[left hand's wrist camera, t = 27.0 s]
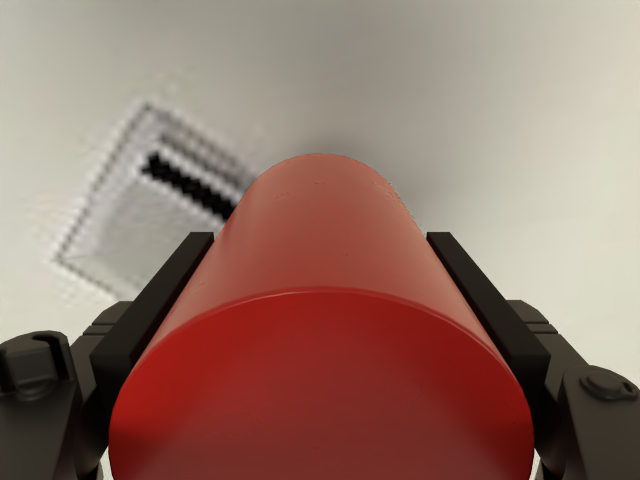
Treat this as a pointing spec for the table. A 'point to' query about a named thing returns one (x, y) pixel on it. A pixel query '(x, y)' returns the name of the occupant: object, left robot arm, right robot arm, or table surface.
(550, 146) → the table surface
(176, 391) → the can
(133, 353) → the left robot arm
